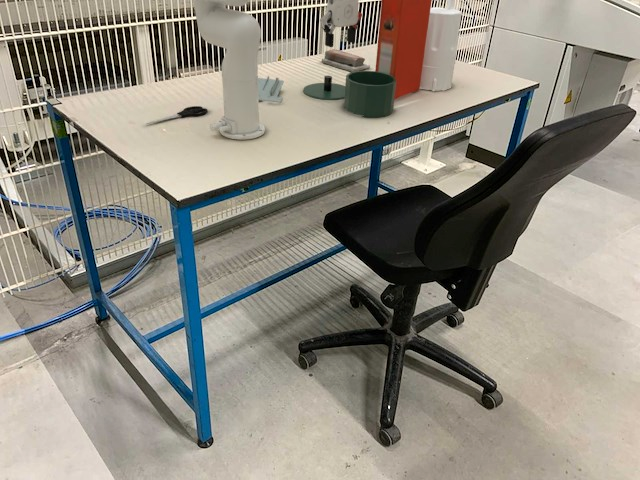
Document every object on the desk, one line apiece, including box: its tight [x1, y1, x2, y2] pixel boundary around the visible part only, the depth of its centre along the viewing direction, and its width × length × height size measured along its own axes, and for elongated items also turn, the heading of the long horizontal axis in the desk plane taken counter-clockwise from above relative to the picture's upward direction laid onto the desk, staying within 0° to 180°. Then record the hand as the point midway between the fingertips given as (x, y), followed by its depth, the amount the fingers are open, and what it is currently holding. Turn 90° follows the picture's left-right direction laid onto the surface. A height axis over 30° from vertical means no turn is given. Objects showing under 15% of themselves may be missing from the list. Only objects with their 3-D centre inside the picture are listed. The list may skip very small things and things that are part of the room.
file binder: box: [374, 0, 433, 100], centre depth 173 cm, size 8×17×32 cm, turn 139°
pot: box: [343, 70, 397, 119], centre depth 164 cm, size 16×16×10 cm
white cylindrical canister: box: [419, 0, 462, 92], centre depth 183 cm, size 15×15×33 cm
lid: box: [302, 75, 345, 101], centre depth 176 cm, size 17×17×6 cm
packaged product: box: [321, 48, 371, 73], centre depth 207 cm, size 18×5×10 cm
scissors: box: [145, 105, 209, 125], centre depth 153 cm, size 7×1×20 cm
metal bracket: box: [258, 75, 285, 103], centre depth 173 cm, size 14×6×15 cm
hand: (340, 44), depth 166 cm, fingers open, 9 cm apart
